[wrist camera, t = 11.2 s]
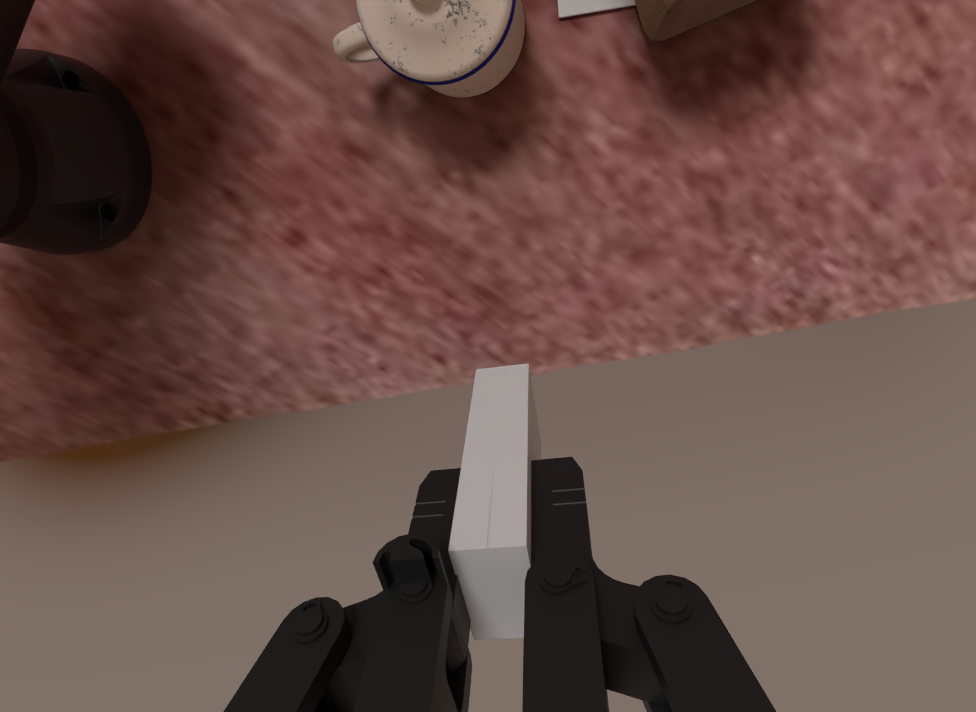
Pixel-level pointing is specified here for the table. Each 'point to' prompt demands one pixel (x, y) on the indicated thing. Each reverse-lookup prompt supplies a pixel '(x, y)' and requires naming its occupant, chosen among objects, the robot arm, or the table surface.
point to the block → (680, 15)
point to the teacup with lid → (438, 41)
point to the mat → (590, 6)
